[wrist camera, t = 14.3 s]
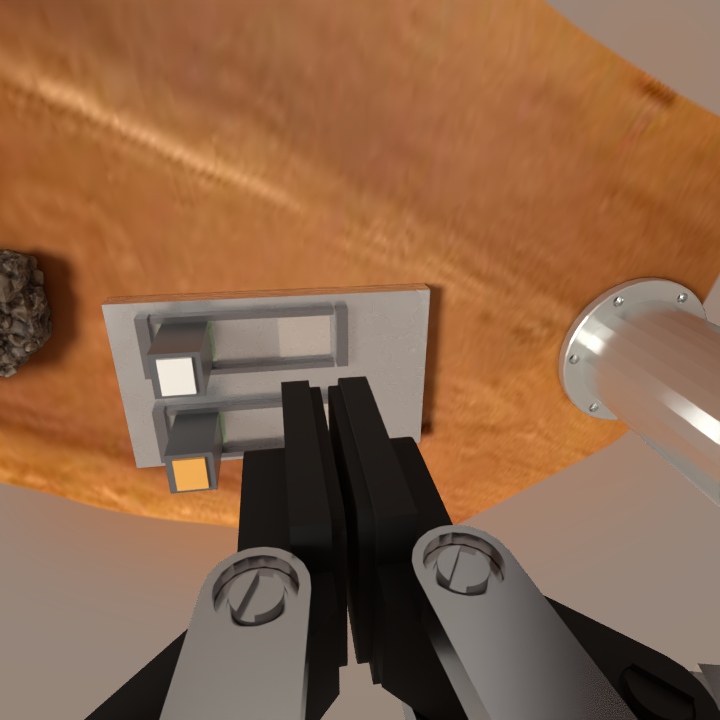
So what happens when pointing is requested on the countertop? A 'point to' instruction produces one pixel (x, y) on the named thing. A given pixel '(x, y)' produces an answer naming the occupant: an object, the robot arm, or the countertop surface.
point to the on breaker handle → (180, 360)
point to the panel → (273, 358)
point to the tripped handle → (194, 453)
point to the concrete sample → (21, 311)
